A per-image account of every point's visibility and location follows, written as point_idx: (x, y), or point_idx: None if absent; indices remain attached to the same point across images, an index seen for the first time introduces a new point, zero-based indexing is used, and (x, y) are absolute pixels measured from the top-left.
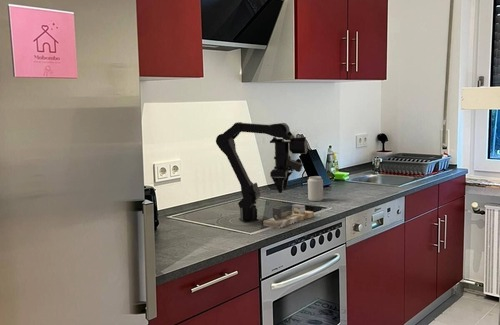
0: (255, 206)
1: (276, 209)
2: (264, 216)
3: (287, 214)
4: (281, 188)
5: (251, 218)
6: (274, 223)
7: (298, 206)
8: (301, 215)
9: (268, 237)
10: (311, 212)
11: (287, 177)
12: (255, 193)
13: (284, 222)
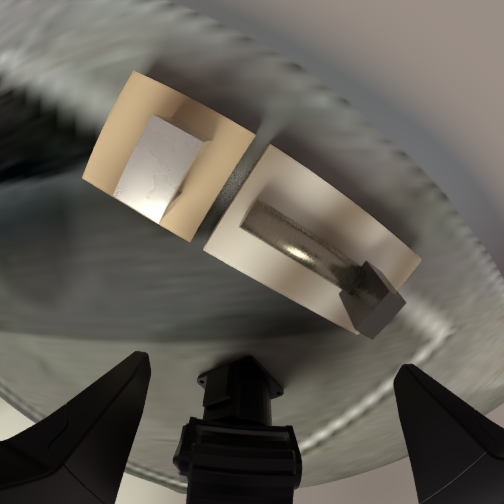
0: (237, 412)
1: (392, 311)
2: (165, 337)
3: (304, 229)
4: (445, 396)
5: (263, 382)
6: (403, 279)
7: (190, 162)
8: (242, 134)
9: (497, 270)
10: (152, 79)
11: (70, 467)
12: (294, 476)
13: (390, 232)
